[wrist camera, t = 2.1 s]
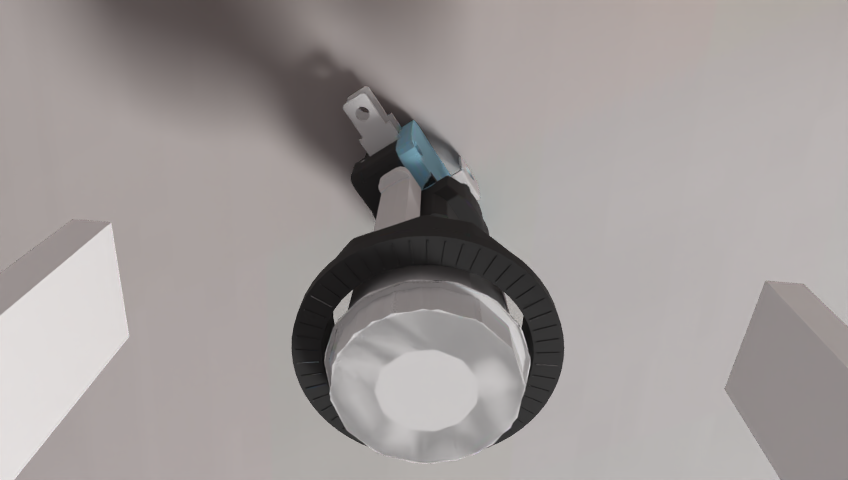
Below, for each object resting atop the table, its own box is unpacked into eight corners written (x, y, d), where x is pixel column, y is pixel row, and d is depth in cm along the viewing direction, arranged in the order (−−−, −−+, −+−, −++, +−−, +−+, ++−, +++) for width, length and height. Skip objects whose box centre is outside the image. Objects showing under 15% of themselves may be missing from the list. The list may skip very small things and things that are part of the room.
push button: (291, 131, 19) (166, 297, 10) (435, 37, 18) (435, 135, 9) (406, 286, 22) (386, 530, 13) (540, 213, 20) (622, 429, 11)
